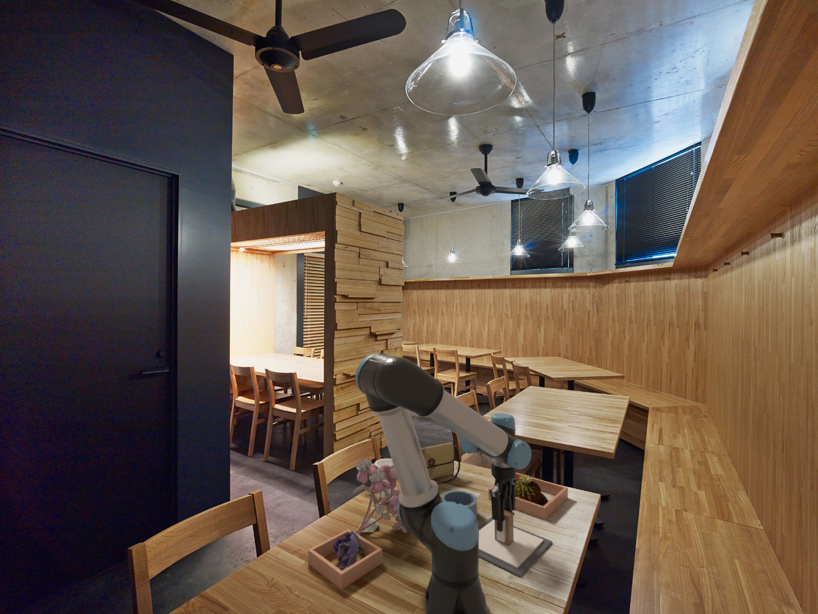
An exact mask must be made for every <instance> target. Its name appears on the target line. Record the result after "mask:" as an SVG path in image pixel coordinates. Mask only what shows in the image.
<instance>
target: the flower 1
mask: <svg viewBox="0 0 818 614" xmlns="http://www.w3.org/2000/svg"><path fill="white" fill-rule="evenodd" d="M349 535H350V536H349ZM344 536H345V538H342V539H338V541H336V542H335V543H334V545H333V548H334V550H333V551H334V552H333V553H335V554H336V555H337V556H338V558H337V562H339V563H340V565H339V569H343V570H345V569H346V568H348V567H349V566H351V565H353V564H354V563H356V562H357V560H358V552H360V555H364V554H363V553H364V549H363V547H362V545H361V544H360V540H359V537H358V536H357V535H356V534H355V531H353V530H351V532H349V534H344ZM349 537H350V538H349ZM358 549H359V550H360V551H358Z"/></svg>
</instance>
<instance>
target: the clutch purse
mask: <svg viewBox="0 0 818 614" xmlns="http://www.w3.org/2000/svg"><path fill="white" fill-rule="evenodd" d="M421 450H422V454H423V457H424V460H425V464H426V467H427V470H428V474H429V477H430V479H431V480H435V479H436V480H437V479H440V478H444V477H447V476H448V477H449V476H452V475H454V476H453V477H452V478H451V479H447V480H444V481H442V482H436V483H437V485H438V486H439V485H443V484H445V483H449V482H451V481H454V480H455V479H456V478H457V476H458V475H459V473H460V471H461V470H460V469H461V459H460V456H459V455H460V454H459V452H458V450H457V445H456V444H455V442H454V441H451V442H447V443H441V444H437V445H431V446H426V447H421ZM456 458H457V462H458V465H457V471H456V473H455V460H456ZM454 473H455V474H454Z"/></svg>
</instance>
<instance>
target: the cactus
mask: <svg viewBox="0 0 818 614" xmlns="http://www.w3.org/2000/svg"><path fill="white" fill-rule="evenodd" d="M531 477H532V476H530V475H528V474H523V475H521V476H520V477H519V479H520V480H519V481H517V482H516V489H515V497H517V498H520V499H523V500H526V501H529V502H532V503H535V504H538V505H541V506H544V505H545V504H547V503H548V502H549V499H548V498H547V496H546V495H544V492H542V491H541V488H540V487H539V485H538V484H537V483H536V482H534V481H532V478H531Z"/></svg>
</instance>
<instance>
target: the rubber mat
mask: <svg viewBox="0 0 818 614" xmlns="http://www.w3.org/2000/svg"><path fill="white" fill-rule="evenodd" d="M492 520H493V519H492V516H491V517H489V518H488V519H487V520H486V521H484V522H483V523H481V524H480V525H478V530H481V529H482V528H483V527H485V526H486V525H487V524H488V523H490V522H491V521H492ZM513 528H516V529H518V530H521V531H523V532H526V533H528V534H531V535H533V536H536V537H538V538H541V539H543V543H542V544H541V545H540V546H539V547H538V548H537V549H536V550H535V551H534V552H533V553H532V554H531V555H530V556H529V557H528V558H527V559H526V560H525V561H524V562H523V563H522V564H521V565H520V566H519V567H518V569H516V568H514V567H512V566H510V565H508V564H506V563H504V562H501V561H499V560H497V559H495V558H493V557H491V556H489V555H487V554H485V553H483V552H481V551H479V558H480V559H482V560H484V561H485V562H488V563H490V564H492V565H493V566H496V567H498V568H500V569H502V570H503V571H506V572H508V573H510V574H513V575H514V576H516V577H518V578H522V576H523V575H525V573H527V571H528V570H529V569H530V568H531V567H532V566H533V564H534V563H536V561H537V560H538V559H539V558H540V557H541V556H542V554H543V553H544V552H545V551H546V550H547V549H548V548H549V547H550V546H551V545H552V544H553V540H550V539H548V538H545V537H542V536H540V535H538V534H536V533H533V532H530V531H528V530H525V529H523V528H520V527H517V526H515V525H513Z"/></svg>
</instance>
